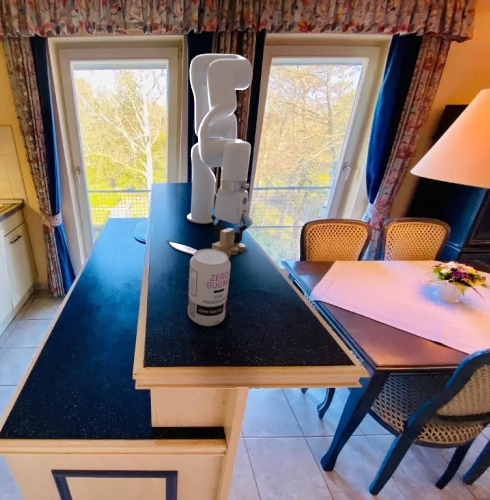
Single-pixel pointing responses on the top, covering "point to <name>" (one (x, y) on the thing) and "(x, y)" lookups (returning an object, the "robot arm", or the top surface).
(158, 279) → the top surface
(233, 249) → the crumb middle
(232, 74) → the robot arm
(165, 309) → the top surface
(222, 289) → the supplement can
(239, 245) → the crumb
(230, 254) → the crumb
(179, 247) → the knife
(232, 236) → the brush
